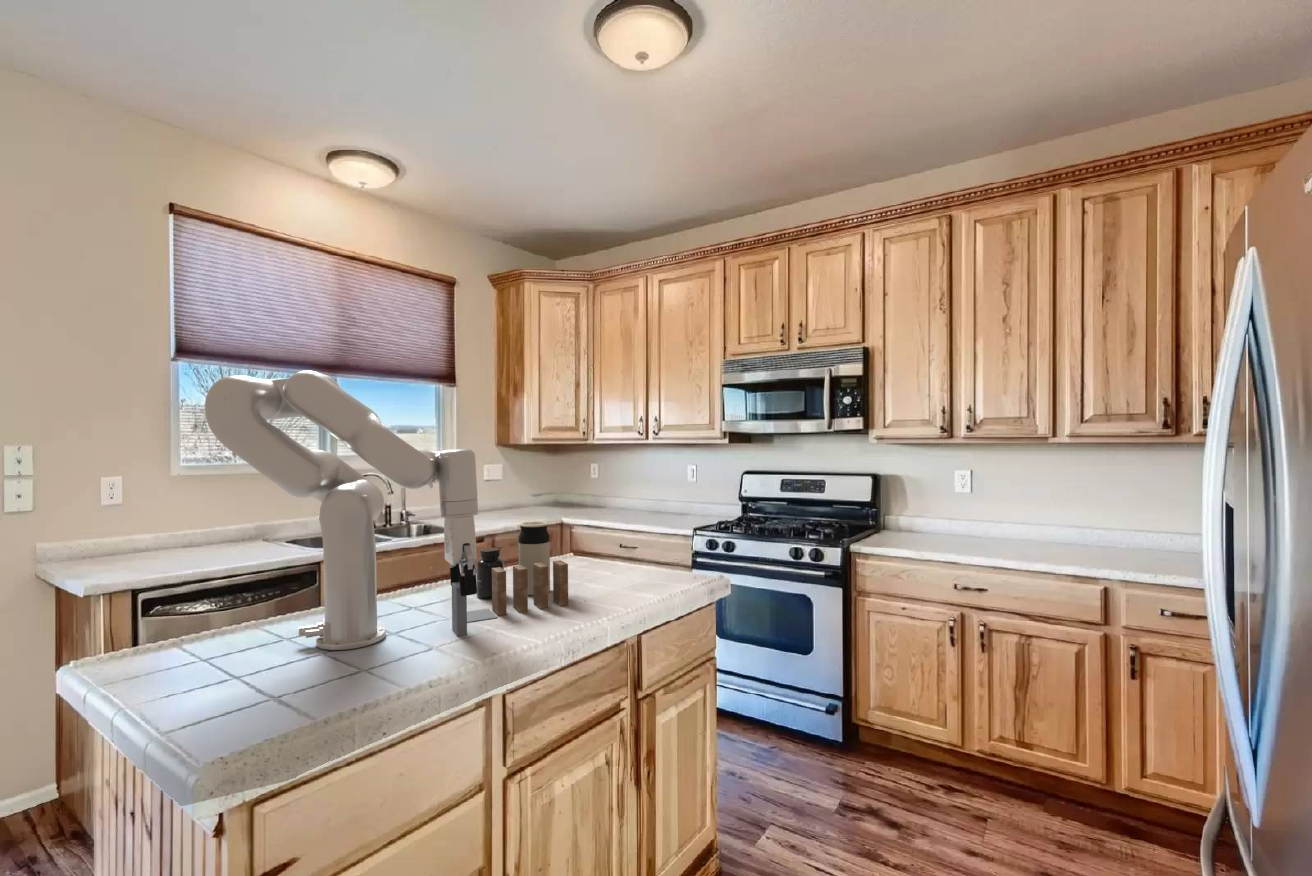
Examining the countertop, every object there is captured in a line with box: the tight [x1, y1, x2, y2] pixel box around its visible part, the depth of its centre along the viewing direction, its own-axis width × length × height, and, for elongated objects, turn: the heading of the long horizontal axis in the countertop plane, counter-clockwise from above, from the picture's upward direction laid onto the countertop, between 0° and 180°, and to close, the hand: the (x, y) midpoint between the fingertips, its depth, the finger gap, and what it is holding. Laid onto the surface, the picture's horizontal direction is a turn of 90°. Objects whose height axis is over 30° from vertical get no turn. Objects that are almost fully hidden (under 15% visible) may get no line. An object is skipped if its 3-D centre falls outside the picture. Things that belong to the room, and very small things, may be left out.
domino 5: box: [552, 559, 569, 608], centre depth 152 cm, size 2×5×10 cm, turn 29°
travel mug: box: [517, 520, 551, 596], centre depth 163 cm, size 8×8×18 cm
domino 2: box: [491, 567, 508, 617], centre depth 145 cm, size 2×5×10 cm, turn 29°
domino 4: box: [533, 563, 549, 610], centre depth 150 cm, size 2×5×10 cm, turn 29°
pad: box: [467, 608, 498, 624], centre depth 142 cm, size 7×8×1 cm
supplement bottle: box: [475, 547, 505, 600], centre depth 160 cm, size 7×7×12 cm
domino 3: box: [512, 564, 529, 614], centre depth 147 cm, size 2×5×10 cm, turn 29°
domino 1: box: [451, 582, 468, 637], centre depth 131 cm, size 2×5×10 cm, turn 29°
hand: (463, 589), depth 131 cm, fingers open, 9 cm apart
